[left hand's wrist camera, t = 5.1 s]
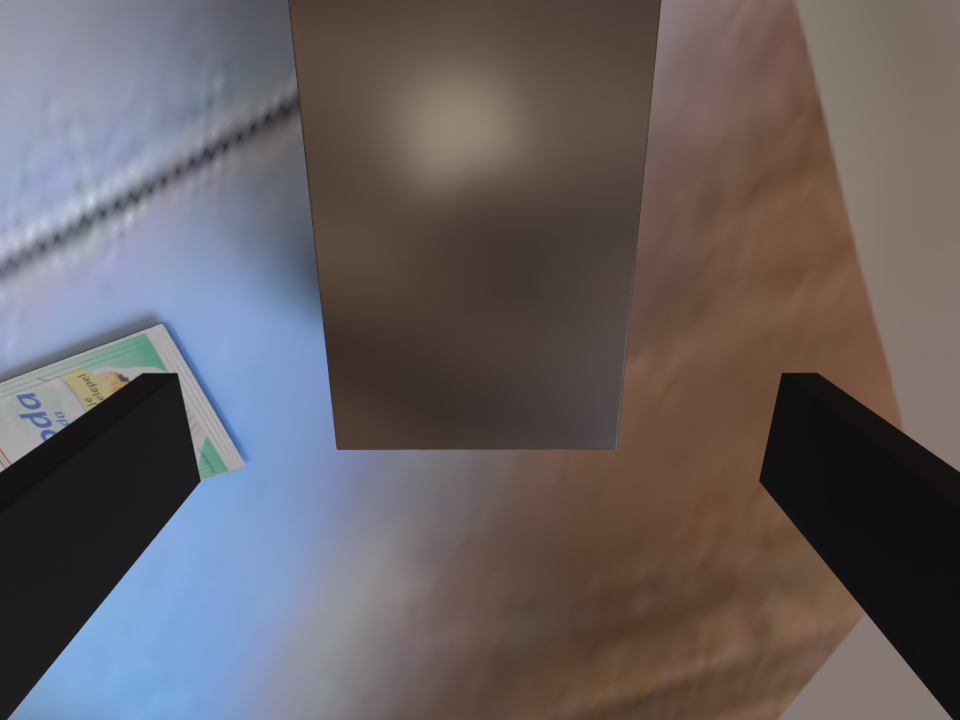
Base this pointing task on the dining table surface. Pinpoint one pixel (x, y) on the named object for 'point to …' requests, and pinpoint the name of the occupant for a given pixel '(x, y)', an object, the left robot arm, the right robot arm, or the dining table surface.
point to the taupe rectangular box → (475, 214)
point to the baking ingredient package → (91, 379)
